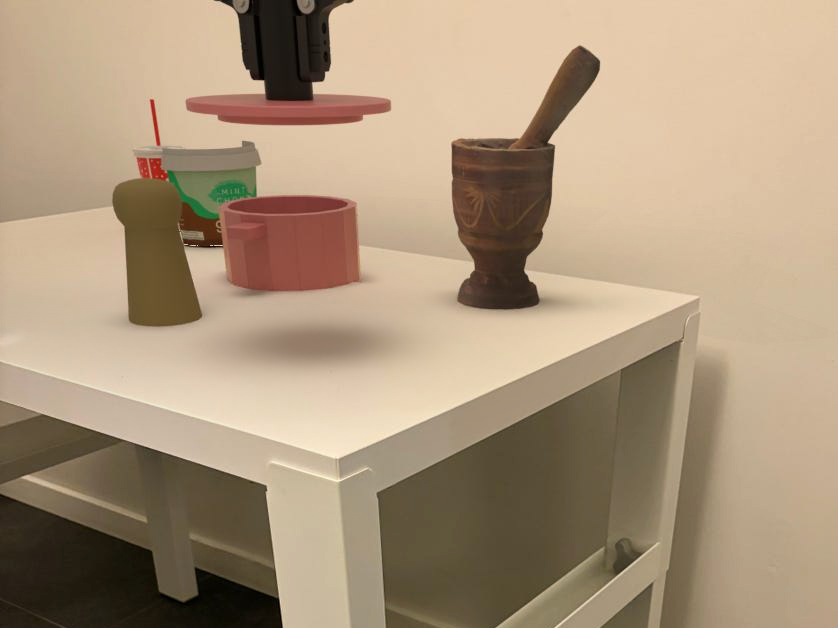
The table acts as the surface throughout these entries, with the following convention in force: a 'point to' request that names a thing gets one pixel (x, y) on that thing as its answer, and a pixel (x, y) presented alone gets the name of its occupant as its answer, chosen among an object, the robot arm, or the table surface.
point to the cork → (155, 254)
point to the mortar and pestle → (512, 193)
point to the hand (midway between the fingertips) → (288, 79)
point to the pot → (290, 242)
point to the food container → (209, 186)
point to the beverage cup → (153, 155)
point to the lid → (285, 83)
